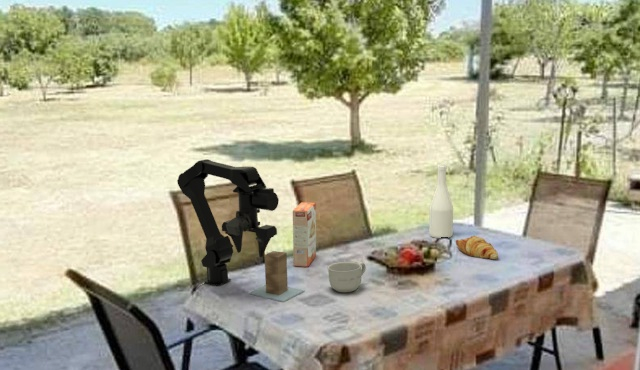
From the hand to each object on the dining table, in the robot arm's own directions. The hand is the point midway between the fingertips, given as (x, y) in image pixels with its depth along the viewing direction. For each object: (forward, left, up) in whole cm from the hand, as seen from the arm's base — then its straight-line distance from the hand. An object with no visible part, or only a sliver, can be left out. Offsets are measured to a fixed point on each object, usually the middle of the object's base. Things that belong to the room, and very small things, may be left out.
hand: (250, 254), depth 210 cm
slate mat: (+8, +3, -12) cm, 15 cm away
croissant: (+47, +75, -12) cm, 89 cm away
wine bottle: (+25, +91, -12) cm, 95 cm away
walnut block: (+8, +3, -12) cm, 15 cm away
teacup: (+26, +18, -12) cm, 34 cm away
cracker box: (-3, +34, -12) cm, 36 cm away
